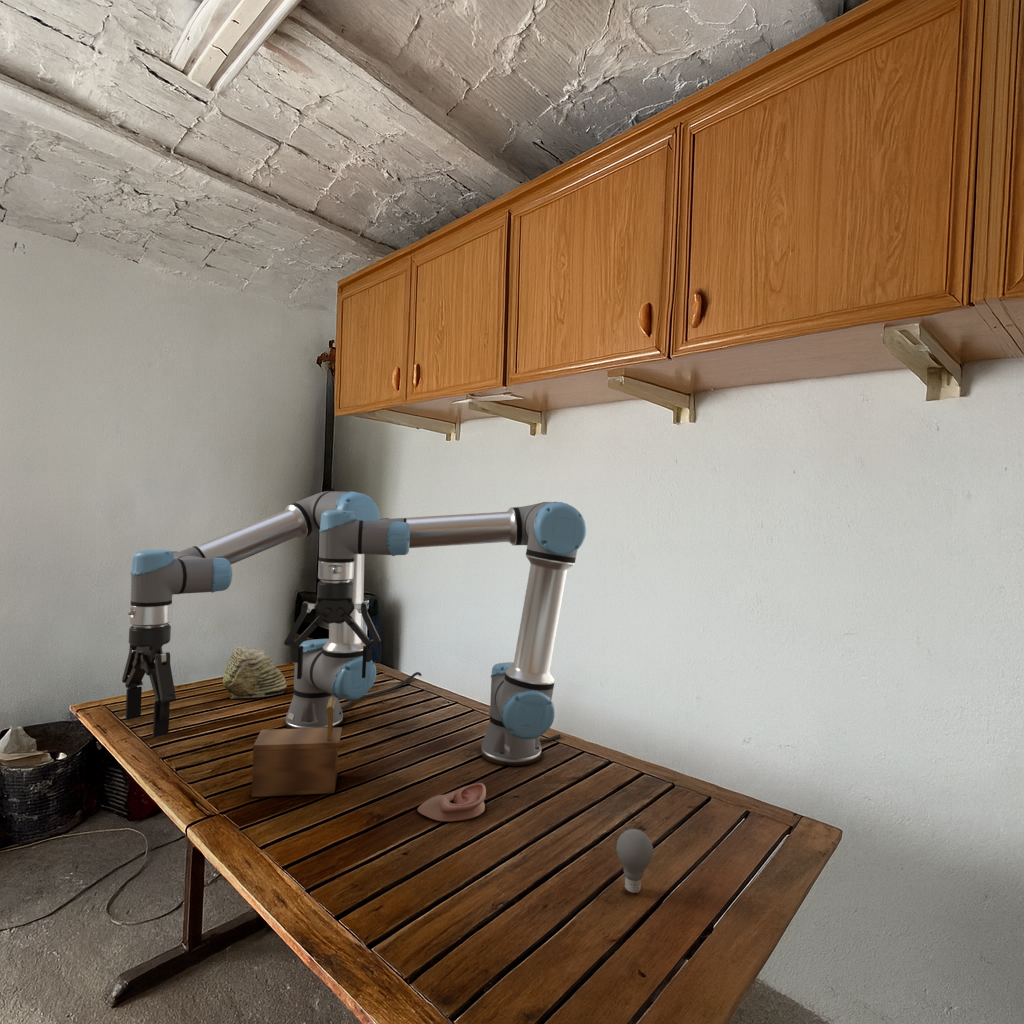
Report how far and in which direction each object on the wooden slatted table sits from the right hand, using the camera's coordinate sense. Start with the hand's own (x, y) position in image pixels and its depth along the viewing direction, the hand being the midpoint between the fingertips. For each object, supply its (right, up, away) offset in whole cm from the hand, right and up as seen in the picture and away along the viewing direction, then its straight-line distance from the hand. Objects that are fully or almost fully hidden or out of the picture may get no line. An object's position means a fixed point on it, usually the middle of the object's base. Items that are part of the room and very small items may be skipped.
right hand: (332, 677), depth 139 cm
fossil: (-41, -21, +59) cm, 75 cm away
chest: (-8, -24, -1) cm, 25 cm away
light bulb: (+60, -27, -34) cm, 74 cm away
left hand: (-36, -8, -8) cm, 38 cm away
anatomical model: (+27, -25, -8) cm, 38 cm away
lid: (-7, -14, -1) cm, 15 cm away
